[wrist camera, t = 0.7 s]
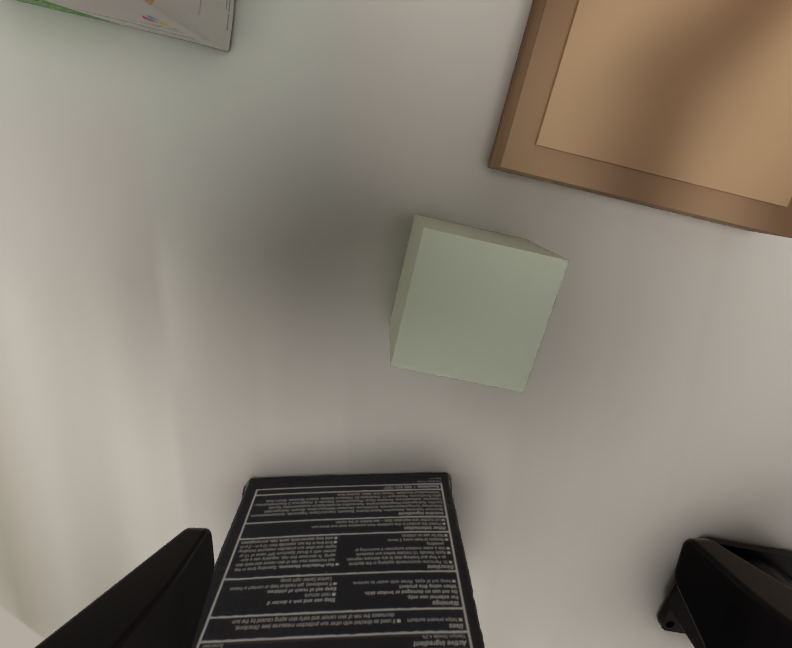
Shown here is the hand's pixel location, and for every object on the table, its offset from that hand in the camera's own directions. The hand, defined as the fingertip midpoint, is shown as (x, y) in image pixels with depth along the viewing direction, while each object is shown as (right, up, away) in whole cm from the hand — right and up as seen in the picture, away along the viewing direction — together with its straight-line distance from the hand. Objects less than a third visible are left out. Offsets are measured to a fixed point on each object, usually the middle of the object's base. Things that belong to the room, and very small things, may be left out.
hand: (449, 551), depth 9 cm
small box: (-3, -6, +16) cm, 18 cm away
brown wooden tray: (+10, +14, +9) cm, 20 cm away
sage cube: (+2, +6, +12) cm, 14 cm away
